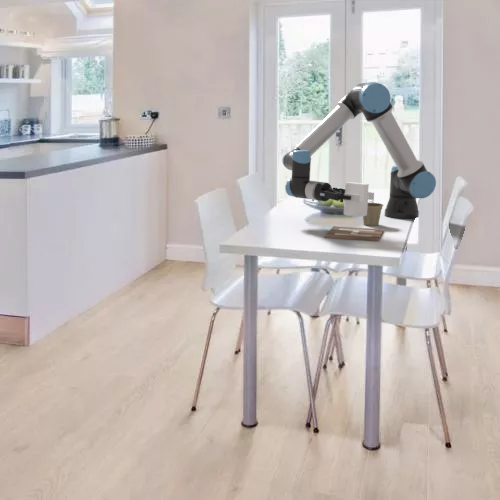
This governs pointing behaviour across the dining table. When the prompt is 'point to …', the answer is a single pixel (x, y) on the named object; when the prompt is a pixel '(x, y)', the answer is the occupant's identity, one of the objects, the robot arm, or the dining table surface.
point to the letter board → (354, 233)
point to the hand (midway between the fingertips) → (366, 197)
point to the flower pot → (372, 214)
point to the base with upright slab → (362, 205)
